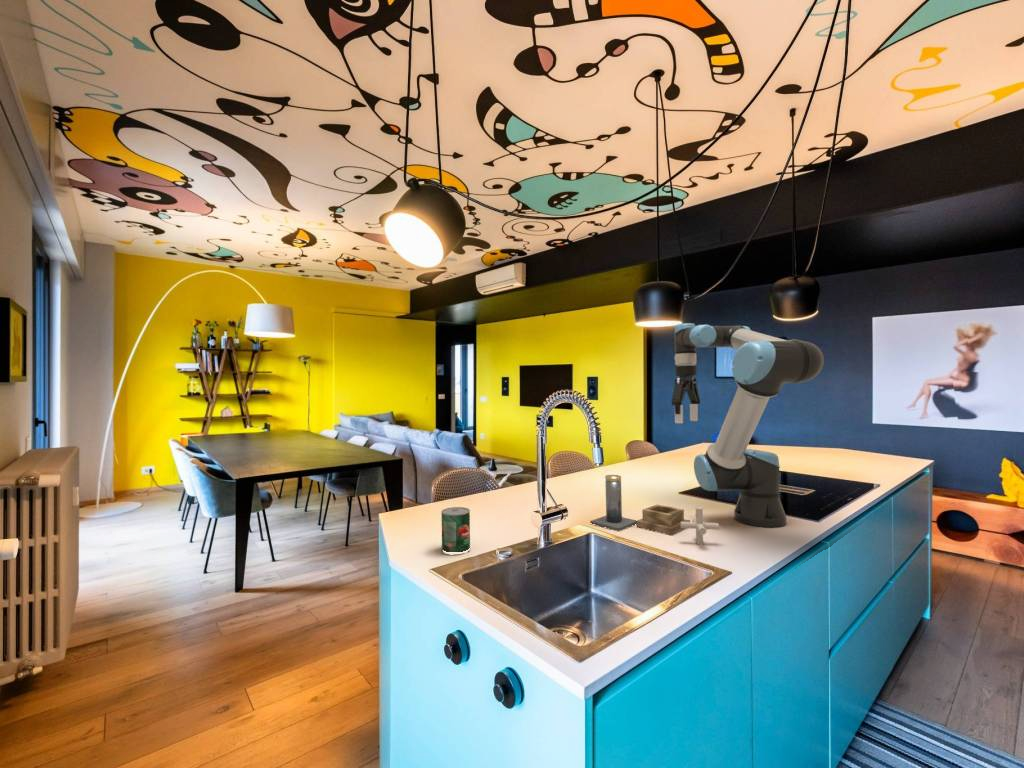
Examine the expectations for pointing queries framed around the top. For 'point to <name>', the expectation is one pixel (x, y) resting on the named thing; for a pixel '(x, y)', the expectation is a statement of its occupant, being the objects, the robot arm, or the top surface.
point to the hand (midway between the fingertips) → (686, 422)
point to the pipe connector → (699, 525)
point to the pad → (614, 526)
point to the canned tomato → (455, 529)
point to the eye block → (662, 519)
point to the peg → (613, 499)
